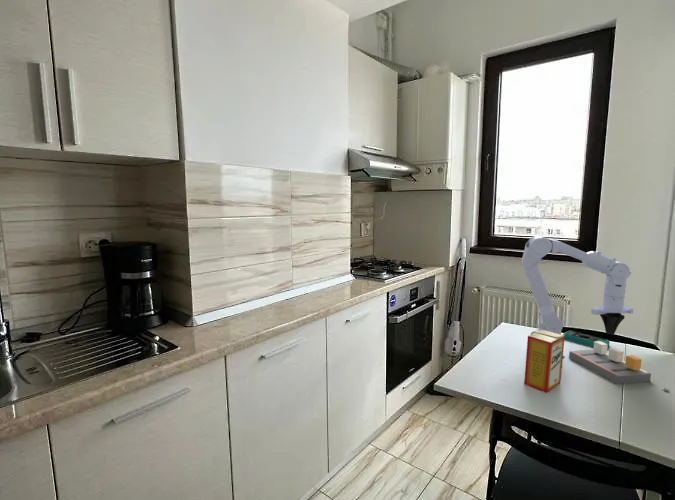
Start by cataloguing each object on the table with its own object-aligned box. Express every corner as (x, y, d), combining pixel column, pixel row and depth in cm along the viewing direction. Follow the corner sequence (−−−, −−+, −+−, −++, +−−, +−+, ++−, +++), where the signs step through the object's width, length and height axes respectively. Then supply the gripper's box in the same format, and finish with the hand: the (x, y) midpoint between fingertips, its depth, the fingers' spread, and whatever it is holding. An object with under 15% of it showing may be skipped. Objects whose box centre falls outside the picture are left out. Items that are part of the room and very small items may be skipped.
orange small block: (633, 370, 114) (635, 359, 113) (624, 366, 117) (626, 355, 116) (640, 369, 114) (641, 359, 113) (631, 365, 117) (632, 355, 116)
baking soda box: (546, 393, 105) (551, 341, 103) (524, 384, 111) (527, 334, 108) (560, 383, 111) (564, 334, 109) (538, 375, 116) (542, 328, 114)
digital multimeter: (568, 335, 152) (568, 329, 152) (610, 346, 141) (610, 339, 140) (560, 339, 148) (561, 332, 148) (603, 351, 136) (604, 344, 136)
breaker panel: (617, 383, 111) (619, 364, 110) (568, 357, 129) (570, 340, 129) (650, 381, 113) (652, 361, 112) (597, 355, 131) (599, 338, 130)
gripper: (605, 299, 119) (601, 338, 121) (643, 298, 121) (638, 336, 122) (587, 294, 126) (584, 331, 127) (624, 293, 128) (620, 329, 129)
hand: (609, 333), depth 125 cm, fingers closed
